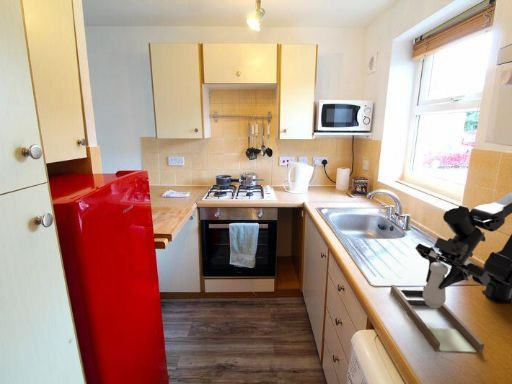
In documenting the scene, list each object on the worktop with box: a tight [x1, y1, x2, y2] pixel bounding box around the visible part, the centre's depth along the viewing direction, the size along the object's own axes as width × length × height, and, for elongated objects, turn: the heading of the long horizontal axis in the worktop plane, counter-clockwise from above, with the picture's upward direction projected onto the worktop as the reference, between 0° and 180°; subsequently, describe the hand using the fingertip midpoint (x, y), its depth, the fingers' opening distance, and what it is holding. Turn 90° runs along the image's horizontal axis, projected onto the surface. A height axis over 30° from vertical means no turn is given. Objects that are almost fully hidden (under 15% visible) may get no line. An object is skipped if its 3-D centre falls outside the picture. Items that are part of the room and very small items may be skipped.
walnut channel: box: [390, 284, 485, 354], centre depth 84 cm, size 12×26×2 cm, turn 178°
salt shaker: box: [423, 262, 449, 309], centre depth 81 cm, size 6×6×13 cm
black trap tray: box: [397, 288, 429, 307], centre depth 92 cm, size 9×6×2 cm, turn 88°
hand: (433, 285), depth 81 cm, fingers closed on salt shaker, 3 cm apart
